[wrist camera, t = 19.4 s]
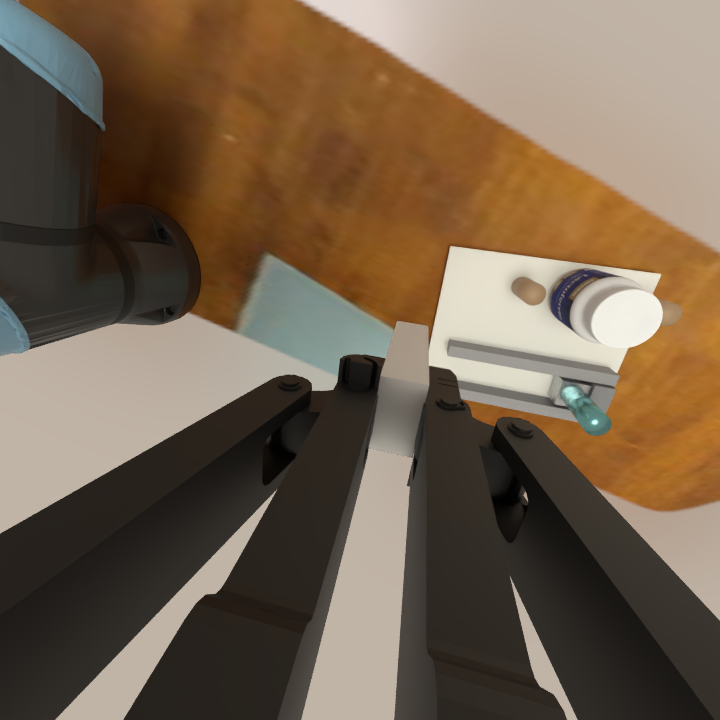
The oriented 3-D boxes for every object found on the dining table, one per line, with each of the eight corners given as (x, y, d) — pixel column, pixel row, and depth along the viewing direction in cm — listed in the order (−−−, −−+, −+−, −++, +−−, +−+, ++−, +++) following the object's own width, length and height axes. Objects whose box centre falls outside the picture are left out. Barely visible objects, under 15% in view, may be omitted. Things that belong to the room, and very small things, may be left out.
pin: (547, 394, 39) (575, 434, 31) (555, 372, 38) (586, 408, 30) (573, 399, 38) (607, 441, 30) (582, 376, 37) (620, 415, 29)
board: (422, 378, 42) (420, 401, 37) (450, 245, 36) (452, 248, 31) (592, 411, 39) (619, 441, 34) (654, 272, 33) (698, 281, 28)
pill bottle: (559, 262, 34) (605, 273, 25) (620, 274, 33) (689, 290, 24) (537, 316, 36) (572, 346, 27) (593, 329, 35) (648, 363, 26)
